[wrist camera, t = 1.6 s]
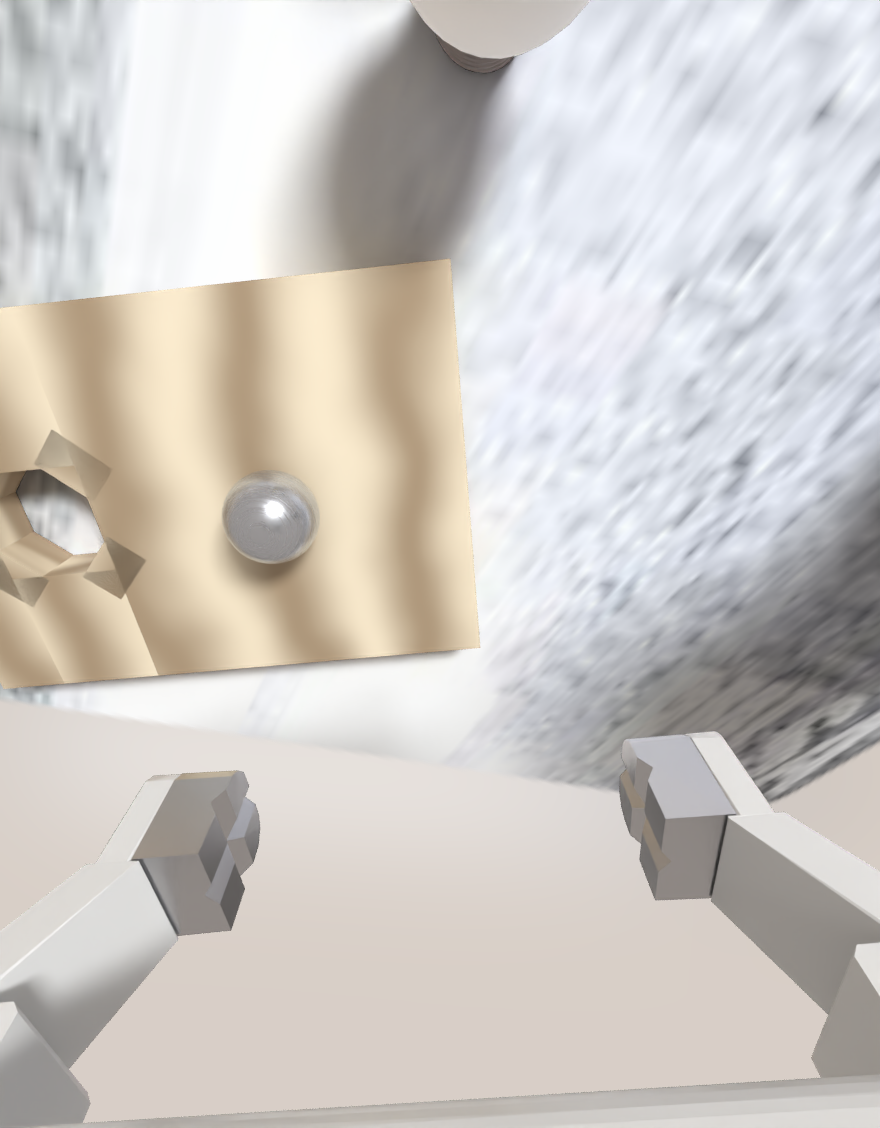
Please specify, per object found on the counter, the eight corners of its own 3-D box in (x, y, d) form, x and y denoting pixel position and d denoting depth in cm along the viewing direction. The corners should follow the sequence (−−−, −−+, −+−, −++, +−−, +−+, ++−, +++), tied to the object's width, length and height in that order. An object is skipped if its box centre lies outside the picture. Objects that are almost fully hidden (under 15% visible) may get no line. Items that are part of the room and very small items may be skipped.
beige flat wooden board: (448, 263, 23) (450, 258, 20) (476, 622, 30) (480, 647, 28) (-139, 327, 24) (-199, 329, 21) (34, 661, 31) (4, 688, 29)
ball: (318, 455, 24) (297, 481, 20) (334, 537, 25) (318, 575, 22) (229, 463, 24) (193, 491, 20) (252, 545, 26) (222, 584, 22)
